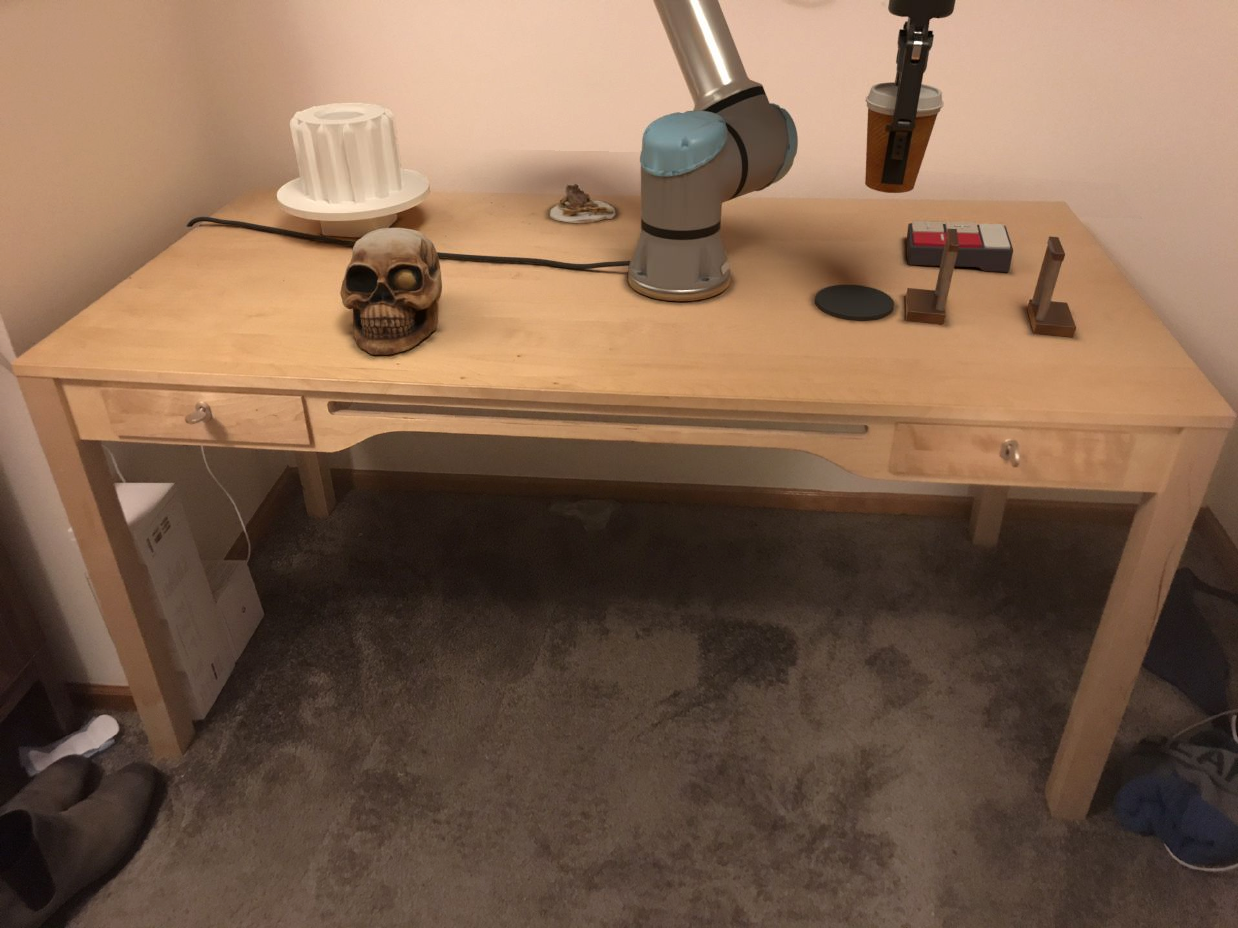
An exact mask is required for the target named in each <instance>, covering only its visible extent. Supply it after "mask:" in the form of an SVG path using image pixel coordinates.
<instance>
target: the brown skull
mask: <svg viewBox="0 0 1238 928" xmlns="http://www.w3.org/2000/svg"><path fill="white" fill-rule="evenodd" d="M355 242H356V243H355V245H354V247H353V248H352V254H351V259H350V261H349V263H348V265H347V266H346V269H345V273H344V277H343V279H342V281H341V282H342V283H341V287H340V292H339V293H340V298H341V303H342V305H343V306H344V308H345V309H347V310H352V333H353V337H354V339H355V342H356V345H357V346H358V347H359V348H360V349H362V350H364V351H366V352H367V353H368V354H370V355H373V356H389V355H394V354H397V353H403V352H406V351H408V350H411V349H413V348H414V347H416V346H417V345H419V344H420V343H421V342H422V341H423V340H424V339H426V338H428V337H429V336H430V334H431V333H434V332H435V331H436V330H437V326H438V322H439V310H438V309H439V308H438V301H439V300H440V299H441V296H442V293H443V292H442V291H443V290H442V289H443V281H442V279H443V278H442V271H441V264H440V257H438V254H437V252H438V251H437V249H436V247H435V244H434V243H433V241H432V240H431V239H430V238H429V237H427V236H426V235H425V234H423V233H422V232H420V231H417V230H415V229H412V228H404V227H389V228H382V229H378V230H375V231H372V232H370V233H368V234H366V235H364V236H363V237H362V238H359V239H358V240H357V241H355Z"/></svg>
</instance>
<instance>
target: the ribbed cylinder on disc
mask: <svg viewBox="0 0 1238 928" xmlns="http://www.w3.org/2000/svg"><path fill="white" fill-rule="evenodd" d="M289 130H290V135H291V139H292V145H293V149H294V154H295V158H296V163H297V168H298V173H299V177H296V178H294V179H291V180H289V181H288V182H286V183H285V184H283V185H282V186H281V187H280V188H279V189H278V190H277V192H276V199H277V204H278V206H279V208H280V209H281V210H282V211H283V212H284V213H286V214H288V215H290V216H293V217H297V218H301V219H305V220H306V219H307V220H313V221H319V225H320V228H321V234H322V235H323V236H324V237H339V238H340V237H341V238H342V237H343V238H359V239H361V238H362V237H363V236H364V235H366V234H368V233H370V232H372V231H375V230H378V229H382V228H391V226H392V225H393V224H394V223H395V222H396V221H397V220H398V213H400V212H404V211H407V210H410V209H411V208H414V207H416V206H418V205H420V204H421V203H423V202H424V201H425V200H426V199H427V198H428V197H429V196H430V193H431V187H430V180H429V179H428V177H426V176H425V174H422V173H421V172H418V171H416V170H412V169H409V168H403V167H402V162H401V161H402V160H401V155H400V148H399V147H400V146H399V141H398V134H397V133H398V132H397V127H396V120H395V116H394V113H393V112H392V111H391V110H390V109H389V108H384V107H383V106H382V105H381V104H379V103H376V104H373V103H368V102H367V103H365V102H361V101H357V102H334V103H327V104H321V105H312V106H311V107H308V108H306V109H304V110H301V111H299V110H298V111H296V112H295V113H294V115H293V117H291V119H290V120H289Z"/></svg>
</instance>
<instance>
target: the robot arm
mask: <svg viewBox="0 0 1238 928" xmlns="http://www.w3.org/2000/svg"><path fill="white" fill-rule="evenodd" d="M652 1H653V3H654V6H655V8H656V12H657V14H658V17H659V19H660V22H661V24H662V26H663V29H664V32H665V35H666V37H667V39H668V41H669V44H670V46H671V49H672V52H673V54H674V56H675V59H676V62H677V64H678V66H679V69H680V71H681V74H682V77H683V79H684V82H685V84H686V86H687V89H688V91H689V94H690V97H691V99H692V102H693V106H694V107H693V109H692V110H686V111H684V112H680V111H677V112H673V113H669V114H666V115H663V116H661V117H659V118H657V119H654V120H652V121H651V122H650V123H649V124H648V125H647V127H646V128H645V129H644V132H643V134H642V139H641V150H640V156H639V162H640V232H639V236H638V238H637V241H636V244H635V247H634V250H633V253H632V256H631V258H630V260H618V261H617V260H615V261H603V262H593V263H572V262H565V261H557V260H552V259H543V258H533V257H516V256H497V255H496V256H495V255H482V254H481V255H479V254H464V253H453V252H452V253H450V252H440V251H439V252H438V251H436V252H437V254H438V258H439V259H440V258H442V259H443V258H444V259H454V260H464V261H465V260H466V261H467V260H468V261H480V262H481V261H483V262H498V263H499V262H500V263H519V264H521V263H522V264H535V265H536V264H537V265H545V266H551V267H558V268H564V269H573V270H590V269H591V270H592V269H593V270H594V269H600V268H614V267H615V268H616V267H628V268H627V270H628V275H627V276H628V278H627V279H628V281H627V282H628V284H629V286H630V287H631V288H632V289H633V290H634V291H635V292H636V293H638V294H641V295H644V296H646V297H649V298H653V299H656V300H660V301H670V302H692V301H693V302H694V301H701V300H707V299H708V298H712V297H715V296H718V295H720V294H721V293H723V292H724V291H725V290H727V289H728V287H729V285H730V280H731V268H730V262H729V260H728V257H727V252H726V248H725V246H724V241H723V238H722V233H721V228H722V227H721V224H722V211H723V210H722V208H723V204H724V203H725V202H729V201H731V200H734V199H737V198H739V197H742V196H744V195H748V194H750V193H751V194H752V193H753V192H761V191H763V190H765V189H767V188H769V187H770V186H772V185H773V184H776V183H777V182H779V181H781V180H782V179H783V178H784V177H785V176H786V175H787V174H788V173H789V171H790V170H791V169H792V167H793V165H794V162H795V161H794V160H795V158H796V156H797V154H798V146H799V145H798V144H799V138H798V130H797V127H796V123H795V121H794V119H793V116H792V115H791V114H790V113H789V111H788V110H786V108H783V107H780V105H779V104H776V103H774V102H772V103H771V102H770V100H769V98H768V96H767V93H766V91H765V87H764V85H763V84H762V83H760V82H758V81H755V80H753V79H750V78H749V76H748V74H747V72H746V69H745V66H744V64H743V61H742V58H741V57H740V56H741V55H740V53H739V51H738V48H737V45H736V43H735V40H734V37H733V35H732V33H731V30H730V28H729V25H728V22H727V20H726V17H725V15H724V12H723V9H722V7H721V4H720V2H719V0H652ZM955 5H956V0H888V6H887V10H888V12H889V13H890V14H891V15H893V16H897V17H901V18H907V21H905V22H904V23H903V26H902V28H900V29H899V30H898V36H897V52H896V57H895V58H896V60H895V64H896V74H895V77H894V78H895V79H894V82H896V86H898V90H897V96H896V97H897V98H896V104H895V111H894V116H893V122H892V124H891V125H886V127H885V131H889V137H888V143H887V149H886V155H885V161H884V166H883V172H882V178H881V183H885V184H898V185H903V181H904V176H905V170H906V165H907V159H908V154H909V149H910V143H911V138H912V132H913V130H914V128H915V126H916V124H915V119H916V113H917V108H918V102H919V96H920V90H921V85H922V84H923V78H924V73H925V72H926V71H927V68H928V61H929V55H930V51H931V50H932V47H933V44H934V36H935V34H934V31H933V30H929V28H930V21H931V20H932V19H945V18H948V17H949V16H951V15H952V14H953V13H954V10H955V7H956V6H955ZM899 119H909V120H899ZM200 222H207V223H214V224H218V225H219V224H220V225H226V226H237V227H243V228H248V229H253V230H259V231H264V232H271V233H275V234H282V235H287V236H292V237H297V238H303V239H308V240H314V241H319V242H324V243H330V244H336V245H340V246H346V247H347V246H348V247H351V248H352V247H354V245H355V243H356V242H357V241H351V240H345V239H341V238H340V239H339V238H333V237H330V236H324V235H323V236H322V235H318V234H311V233H306V232H301V231H296V230H290V229H285V228H279V227H273V226H268V225H262V224H256V223H252V222H245V221H239V220H233V219H231V220H230V219H223V218H222V219H221V218H217V217H210V216H198V217H194V218H192V219H191V220H189V221H188V222H187V224H186V227H187V228H192V227H193V226H194V225H195V224H197V223H200Z"/></svg>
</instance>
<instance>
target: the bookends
mask: <svg viewBox="0 0 1238 928" xmlns="http://www.w3.org/2000/svg"><path fill="white" fill-rule="evenodd" d="M1046 243H1047V245H1046V249H1045V253H1044V257H1043V260H1042V264H1041V267H1040V270H1039V275H1038V278H1037V281H1036V285H1035V289H1034V293H1033V296H1032V299H1031V298H1030V299H1029V300H1028V303H1027V307H1026V311H1027V314H1028V317H1029V322H1030V326H1031V329H1032V333H1033V334H1037V335H1044V336H1045V335H1046V336H1057V337H1058V336H1059V337H1064V338H1065V337H1067V338H1074V336H1075V333H1076V331H1077V326H1076V323H1075V321H1074V318H1073V315H1072V312H1071V309H1070V306H1069V304H1068V302H1063V301H1054V300H1052V298H1053V294H1054V292H1055V288H1056V284H1057V282H1058V278H1059V274H1060V272H1061V267H1062V264H1063V262H1064V261H1065V256H1066V253H1065V250H1064V247H1063V245H1062V241H1061V239H1060V237H1059V236H1048V240H1047V242H1046ZM958 249H959V241H958V234H957V229H948V230H947V236H946V241H945V246H944V251H943V256H942V260H941V265H940V266H939V270H938V275H937V279H936V284H935V289H923V288H914V287H907V288H906V293H905V321H906V322H915V323H925V324H933V325H934V324H935V325H944V324H945V320H946V316H947V315H946V314H947V313H946V306H947V301H948V297H949V292H950V288H951V285H952V284H951V283H952V278H953V275H954V269H955V266H954V265H955V261H956V256H957V252H958Z"/></svg>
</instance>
